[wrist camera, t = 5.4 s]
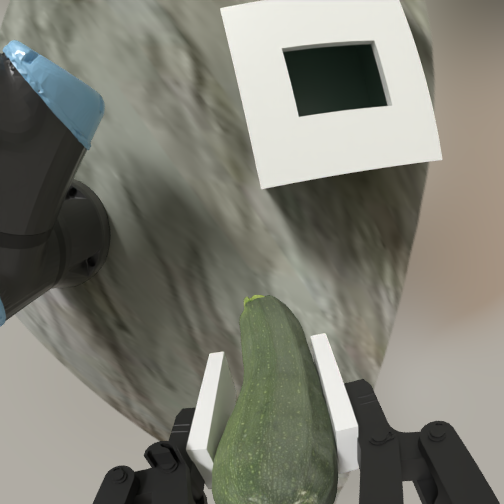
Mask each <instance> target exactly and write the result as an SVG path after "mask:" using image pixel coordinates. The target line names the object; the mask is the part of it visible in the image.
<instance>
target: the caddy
mask: <svg viewBox="0 0 504 504" xmlns="http://www.w3.org/2000/svg"><path fill="white" fill-rule="evenodd" d="M220 10H221V14H222V18H223V23H224V27H225V31H226V35H227V39H228V43H229V47H230V52H231V56H232V60H233V64H234V69H235V73H236V77H237V82H238V86H239V90H240V95H241V99H242V103H243V108H244V112H245V117H246V121H247V126H248V130H249V135H250V139H251V144H252V148H253V153H254V158H255V162H256V167H257V172H258V176H259V181H260V186H261V189H265V188H270V187H275V186H280V185H285V184H291V183H296V182H301V181H307V180H312V179H318V178H323V177H329V176H335V175H341V174H347V173H353V172H359V171H365V170H371V169H378V168H385V167H391V166H398V165H406V164H413V163H420V162H428V161H436V160H442V155H441V148H440V142H439V137H438V131H437V126H436V121H435V116H434V112H433V107H432V103H431V98H430V94H429V90H428V86H427V82H426V79H425V75H424V71H423V68H422V64H421V61H420V58H419V55H418V51H417V48H416V45H415V42H414V39H413V36H412V33H411V30H410V28H409V25H408V22H407V19H406V17H405V14H404V11H403V9H402V6H401V4H400V1H399V0H264V1H257V2H251V3H246V4H240V5H235V6H230V7H225V8H220Z"/></svg>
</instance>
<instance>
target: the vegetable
mask: <svg viewBox="0 0 504 504" xmlns="http://www.w3.org/2000/svg"><path fill="white" fill-rule="evenodd" d="M239 325H240V330H241V345H242V356H243V364H244V379H243V385H242V388H241V392H240V395H239V397H238V400H237V402H236V405H235V407H234V410H233V412H232V414H231V416H230V418H229V420H228V422H227V425H226V428H225V430H224V433H223V435H222V438H221V440H220V442H219V445H218V448H217V452H216V455H215V458H214V463H213V469H212V493H213V498H214V501H215V503H216V504H333V503H334V501H335V497H336V493H337V484H338V463H337V453H336V445H335V440H334V434H333V428H332V423H331V419H330V415H329V412H328V408H327V405H326V402H325V399H324V397H323V392H322V387H321V383H320V379H319V376H318V373H317V370H316V367H315V365H314V362H313V359H312V356H311V353H310V350H309V347H308V344H307V341H306V338H305V334H304V331H303V329H302V327H301V325H300V323H299V321H298V320H297V318H296V317H295V316H294V314H293V313H292V312H291V310H290V309H289V308H288V307H287V306H286V305H285V304H284V303H282V302H281V301H280V300H278V299H277V298H275V297H273V296H270V295H268V296H262V295H254V296H252V298H250V299H249V298H248V297H246V298H245V299H244V311H243V313H242V314H241V316H240V322H239Z"/></svg>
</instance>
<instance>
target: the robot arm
mask: <svg viewBox="0 0 504 504" xmlns="http://www.w3.org/2000/svg"><path fill="white" fill-rule="evenodd" d="M104 110H105V105H104V101H103V99H102V97H101V95H100V94H99V93H98V92H97V91H95V90H94V89H92V88H91V87H90V86H88V85H87V84H85V83H84V82H82V81H81V80H79V79H78V78H76V77H75V76H73V75H72V74H70V73H69V72H67V71H66V70H64V69H62V68H61V67H59V66H58V65H56V64H55V63H53V62H51V61H50V60H48V59H47V58H45V57H43V56H42V55H40V54H39V53H37V52H35V51H33V50H32V49H30V48H29V47H27V46H26V45H24V44H22V43H21V42H19V41H17V40H13V41H11V42H10V43H9V44H8V45H6V46H5V47H4V48H3V54H1V53H0V326H2V325H3V324H4V323H5V321H6V320H8V319H9V318H10V317H12V316H13V315H14V314H16V313H17V312H19V311H20V310H21V309H23V308H24V307H26V306H27V305H28V304H30V303H31V302H33V301H34V300H35V299H37V298H38V297H40V296H41V295H43V294H44V293H45V292H47V291H48V290H50V289H51V288H63V287H72V286H76V285H79V284H81V283H83V282H85V281H87V280H88V279H89V278H91V277H92V276H93V275H95V274H96V273H97V272H98V271H99V269H100V268H101V267H102V265H103V263H104V261H105V259H106V257H107V254H108V250H109V244H110V229H109V222H108V218H107V215H106V212H105V210H104V207H103V205H102V203H101V202H100V200H99V198H98V197H97V196H96V194H95V193H94V192H93V191H92V190H91V189H90V188H89V187H88V186H86V185H85V184H83V183H82V182H80V181H77V180H74V177H75V174H76V172H77V170H78V168H79V166H80V164H81V162H82V160H83V158H84V156H85V153H86V151H87V150H89V149H90V147H91V143H90V142H91V140H92V138H93V136H94V134H95V131H96V129H97V127H98V125H99V123H100V121H101V119H102V117H103V114H104ZM311 343H312V349H313V356H314V363H315V367H316V370H317V373H318V376H319V379H320V383H321V387H322V392H323V397H324V399H325V402H326V405H327V408H328V412H329V415H330V419H331V423H332V428H333V434H334V440H335V445H336V453H337V463H338V472H339V474H340V473H345V472H349V471H353V470H357V469H358V465H359V469H360V495H359V504H403V489H402V488H403V486H402V481H413V483H414V486H415V488H416V490H417V493H418V495H419V497H420V500H421V502H422V504H500V503H499V501H498V499H497V498H496V496H495V494H494V493H493V491H492V489H491V487H490V486H489V484H488V482H487V481H486V479H485V477H484V476H483V474H482V472H481V471H480V469H479V467H478V466H477V464H476V463H475V461H474V459H473V458H472V456H471V455H470V453H469V451H468V450H467V448H466V447H465V445H464V444H463V442H462V440H461V439H460V437H459V436H458V434H457V433H456V431H455V430H454V428H453V427H452V426H451V425H450V424H449V423H446V422H444V421H434V422H430V423H428V424H427V425H425V426H424V427H423V428H422V429H421V432H410V433H405V432H404V433H403V432H398V431H396V430H394V429H393V428H392V427H390V425H389V424H388V422H387V420H386V417H385V415H384V413H383V411H382V408H381V406H380V404H379V402H378V400H377V397H376V395H375V393H374V391H373V388H372V386H371V385H370V384H369V383H368V382H366V381H365V380H364V379H361V380H357V381H353V382H349V383H345V384H344V383H343V380H342V377H341V375H340V372H339V369H338V366H337V363H336V361H335V358H334V355H333V352H332V349H331V347H330V344H329V341H328V339H327V336H326V333H323V334H319V335H314V336H311ZM235 402H236V389H235V386H234V382H233V379H232V376H231V373H230V370H229V366H228V363H227V360H226V357H225V353H224V352H217V353H210V354H209V358H208V362H207V366H206V370H205V374H204V378H203V382H202V386H201V390H200V394H199V398H198V402H197V406H196V408H185V409H182V410H181V411H180V413H179V414H178V415H177V416H176V419H175V422H174V426H173V429H172V433H171V435H170V438H169V441H160V442H157V443H154V444H152V445H151V446H149V447H148V448H147V450H146V451H145V454H144V457H145V458H146V460H147V461H148V463H149V464H150V466H151V467H152V468H149V469H146V470H141V471H137V472H134V471H133V470H132V469H131V468H130V467H128V466H117V467H114V468H112V469H111V470H109V471H108V473H107V474H106V475H105V478H104V480H103V482H102V484H101V486H100V489H99V491H98V493H97V495H96V497H95V500H94V502H93V504H207V497H206V495H205V493H204V491H203V490H204V484H206V486H207V487H208V489H212V469H213V463H214V458H215V455H216V452H217V448H218V445H219V442H220V440H221V438H222V435H223V433H224V430H225V428H226V425H227V422H228V420H229V418H230V416H231V414H232V412H233V410H234V407H235Z"/></svg>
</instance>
